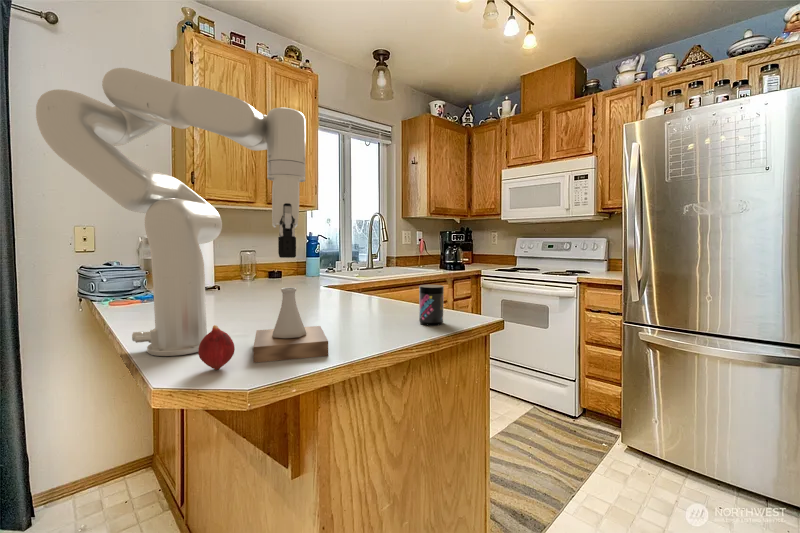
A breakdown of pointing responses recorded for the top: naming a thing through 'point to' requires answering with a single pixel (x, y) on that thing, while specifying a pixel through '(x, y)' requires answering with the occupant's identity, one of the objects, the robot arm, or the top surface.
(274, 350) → the block
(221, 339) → the onion
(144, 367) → the top surface
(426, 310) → the supplement container
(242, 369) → the top surface
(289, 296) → the flask
